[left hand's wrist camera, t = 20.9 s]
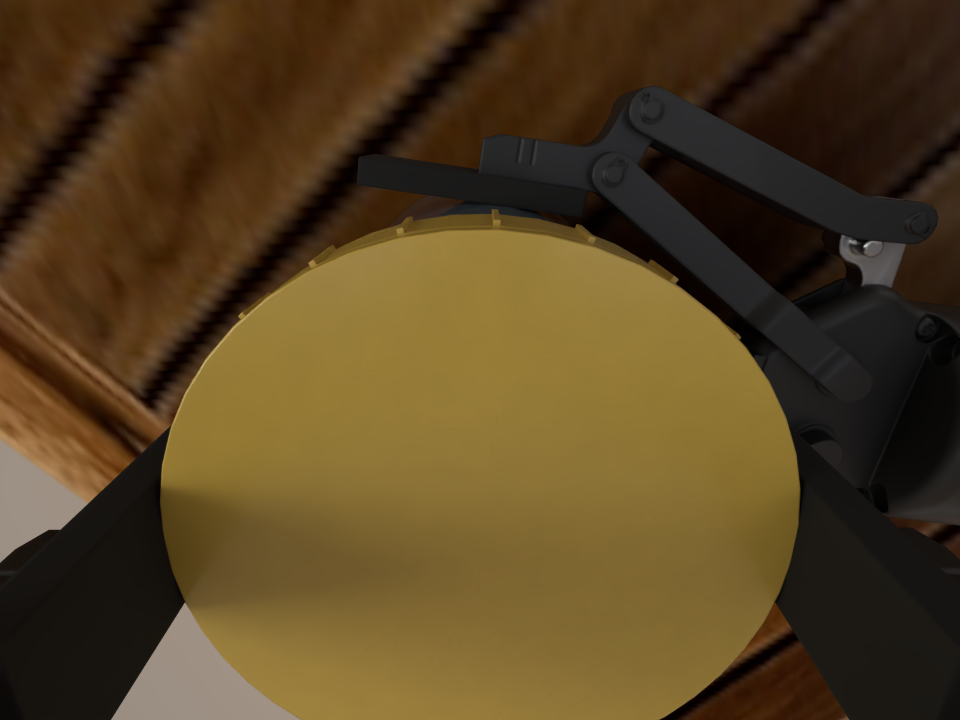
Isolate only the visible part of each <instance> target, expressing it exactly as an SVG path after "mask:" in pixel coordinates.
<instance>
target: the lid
mask: <svg viewBox="0 0 960 720" xmlns="http://www.w3.org/2000/svg"><path fill="white" fill-rule="evenodd" d="M308 264H309V265H310V266H308V267H306V268H305V269H303V270H302V271H300V272H299V273H298V274H296V275H295V276H294V277H292V278H291V279H290V280H288V281H287V282H286V283H284V284H283V285H282V286H281V287H279V288H278V289H277V290H275V291H274V292H273V293H270V292H269V293H267V294H266V295H265V296H263V297H262V298H261V299H259V300H258V301H257V302H255V303H254V304H253V305H251V306H250V307H249V308H247V309H246V310H245V311H243V312H242V313H241V314H240V315H239V316H238V317H239V318H240V319H241V320H240V321H239V322H237V323H236V324H235V325H234V326H233V327H232V328H231V330H230V331H229V332H228V333H227V334H226V335H225V337H224V338H223V339H222V340H221V341H220V342H219V344H218V345H217V346H216V347H215V348H214V350H213V351H212V352H211V353H210V354H209V355H208V357H207V358H206V359H205V361H204V363H203V364H202V366H201V367H200V369H199V371H198V372H197V374H196V376H195V377H194V378H193V380H192V382H191V384H190V386H189V387H188V389H187V390H186V392H185V394H184V397H183V399H182V402H181V404H180V407H179V409H178V411H177V414H176V416H175V419H174V421H173V424H172V426H171V429H170V433H169V437H168V442H167V446H166V451H165V455H164V459H163V464H162V476H161V492H160V509H161V519H162V529H163V534H164V539H165V543H166V547H167V551H168V555H169V560H170V564H171V568H172V572H173V575H174V577H175V579H176V582H177V584H178V586H179V589H180V591H181V594H182V596H183V598H184V601H185V603H186V604H187V606H188V608H189V610H190V611H191V613H192V615H193V616H194V618H195V620H196V621H197V623H198V625H199V626H200V628H201V630H202V631H203V633H204V634H205V635H206V636H207V638H208V639H209V640H210V642H211V643H212V644H213V645H214V647H215V648H216V649H217V651H218V652H219V653H220V654H221V656H222V657H223V658H224V659H225V660H226V661H227V662H228V663H229V664H230V665H231V666H232V667H233V668H234V669H235V670H236V671H237V672H238V673H239V674H240V675H241V676H242V677H243V678H244V679H245V680H246V681H247V682H248V683H249V684H251V685H252V686H253V687H255V688H256V689H257V690H258V691H260V692H261V693H262V694H263V695H265V696H266V697H267V698H269V699H270V700H271V701H272V702H274V703H275V704H277V705H278V706H280V707H281V708H283V709H285V710H286V711H288V712H290V713H291V714H293V715H294V716H296V717H298V718H299V719H301V720H659V719H661V718H663V717H665V716H667V715H668V714H670V713H671V712H673V711H674V710H676V709H677V708H679V707H680V706H681V705H683V704H684V703H686V702H687V701H689V700H690V699H692V698H693V697H695V696H696V695H697V694H698V693H700V692H701V691H702V690H703V689H704V688H705V687H707V686H708V685H709V684H710V683H711V682H713V681H714V680H715V679H716V678H717V677H718V676H720V675H721V674H722V673H723V672H724V671H725V669H726V668H727V667H728V666H729V665H730V664H731V663H732V662H733V661H734V660H735V659H736V658H737V657H738V656H739V655H740V653H741V652H742V651H743V650H744V649H745V648H746V646H747V645H748V643H749V642H750V641H751V639H752V638H753V637H754V635H755V634H756V632H757V631H758V630H759V628H760V627H761V625H762V624H763V623H764V621H765V619H766V617H767V615H768V614H769V612H770V610H771V608H772V606H773V604H774V602H775V601H776V599H777V597H778V595H779V593H780V591H781V588H782V585H783V583H784V580H785V577H786V574H787V572H788V569H789V565H790V561H791V557H792V552H793V548H794V543H795V539H796V535H797V530H798V525H799V512H800V491H801V490H800V482H799V473H798V464H797V455H796V450H795V447H794V443H793V440H792V436H791V433H790V429H789V426H788V422H787V419H786V416H785V414H784V412H783V409H782V407H781V405H780V403H779V401H778V399H777V397H776V394H775V392H774V390H773V388H772V386H771V384H770V382H769V380H768V379H767V377H766V376H765V374H764V373H763V371H762V370H761V368H760V367H759V365H758V364H757V362H756V361H755V360H754V358H753V357H752V355H751V354H750V352H749V351H748V349H747V348H746V347H745V346H744V344H743V343H742V342H741V341H740V340H739V339H740V338H741V337H740V336H739V334H738V333H736V332H735V331H734V330H732V329H731V328H730V327H729V326H727V325H726V324H725V323H723V322H722V321H721V320H720V319H719V318H718V317H717V316H716V315H715V314H714V313H712V312H711V311H710V310H709V309H707V308H706V307H705V306H703V305H702V304H701V303H700V302H698V301H697V300H696V299H695V298H693V297H692V296H691V295H689V294H688V293H687V292H686V291H684V290H683V289H682V288H681V287H679V286H678V285H677V284H676V282H677V281H678V280H679V279H678V278H676V277H675V276H674V275H672V274H671V273H670V272H668V271H667V270H665V269H664V268H663V267H661V266H660V265H659V264H657V263H656V262H654V261H653V260H650V261H649V263H647V262H645V261H644V260H642V259H640V258H638V257H637V256H635V255H633V254H632V253H630V252H628V251H626V250H625V249H623V248H621V247H619V246H618V245H616V244H614V243H611V242H609V241H606V240H604V239H601V238H599V237H596V236H594V235H592V234H591V233H590V232H588V231H587V230H586V229H585V228H584V227H583V226H582V225H579V224H576V227H575V228H572V227H568V226H564V225H560V224H556V223H552V222H548V221H544V220H540V219H536V218H527V217H518V216H509V215H500V214H499V211H498V210H497V209H492V214H466V215H448V216H441V217H435V218H429V219H422V220H416V221H413V218H412V216H411V217H407V218H406V219H405V220H404V221H403V222H402V223H401V224H400V225H397V226H393V227H390V228H387V229H383V230H380V231H376V232H373V233H370V234H368V235H366V236H363V237H361V238H359V239H357V240H355V241H353V242H350V243H348V244H346V245H344V246H342V247H339V248H337V249H335V247H334V245H332V246H331V247H329V248H327V249H326V250H325V251H323V252H322V253H321V254H319V255H318V256H317V257H315V258H314V259H313V260H311V261H310V262H309V263H308Z"/></svg>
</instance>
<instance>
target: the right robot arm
mask: <svg viewBox="0 0 960 720" xmlns="http://www.w3.org/2000/svg"><path fill="white" fill-rule="evenodd" d="M649 146H650V147H652V148H654V149H656V150H657V151H659V152H661V153H663V154H665V155H667V156H669V157H671V158H673V159H675V160H677V161H679V162H681V163H683V164H685V165H687V166H689V167H690V168H692V169H694V170H696V171H698V172H700V173H702V174H704V175H706V176H708V177H710V178H712V179H714V180H716V181H718V182H720V183H721V184H723V185H725V186H727V187H729V188H731V189H733V190H735V191H737V192H739V193H741V194H743V195H745V196H747V197H749V198H751V199H752V200H754V201H756V202H758V203H760V204H762V205H764V206H766V207H768V208H770V209H772V210H774V211H776V212H778V213H780V214H782V215H784V216H785V217H787V218H790V219H792V220H794V221H796V222H799V223H801V224H805V225H808V226H812V227H815V228H819V229H822V230H824V232H823V234H822V241H823V242H824V247H825V250H826V251H827V253H828V254H830V255H831V256H833V257H836V258H838V259H840V260H841V261H842V262H844V264H845V266H846V278H842V279H839V280H837V281H834V282H832V283H830V284H828V285H826V286H824V287H821V288H819V289H817V290H815V291H813V292H811V293H809V294H806V295H804V296H802V297H800V298H798V299H796V300H794V301H789V300H788V299H787V298H786V297H784V296H783V295H781V294H780V293H779V292H777V291H776V290H775V289H773V288H772V287H771V286H770V285H769V284H768V283H767V282H766V281H765V280H763V279H762V278H761V277H760V276H759V275H758V274H757V273H756V272H755V271H753V270H752V269H751V268H750V267H749V266H748V265H747V264H746V263H745V262H744V261H742V260H741V259H740V258H739V257H738V256H737V255H736V254H735V253H734V252H732V251H731V250H730V249H729V248H728V247H727V246H726V245H725V244H724V243H723V242H721V241H720V240H719V239H718V238H717V237H716V236H715V235H714V234H713V233H712V232H710V231H709V230H708V229H707V228H706V227H705V226H704V225H703V224H702V223H700V222H699V221H698V220H697V219H696V218H695V217H694V216H693V215H692V214H691V213H689V212H688V211H687V210H686V209H685V208H684V207H683V206H682V205H681V204H680V203H678V202H677V201H676V200H675V199H674V198H673V197H672V196H671V195H670V194H668V193H667V192H666V191H665V190H664V189H663V188H662V187H661V186H660V185H659V184H657V183H656V182H655V181H654V180H653V179H652V178H651V177H650V176H649V175H647V174H646V173H645V172H644V171H643V170H642V169H641V168H640V167H639V166H638V164H639V163H640V161H641V159H642V158H643V156H644V154H645V153H646V151H647V149H648V148H649ZM357 185H362V186H369V187H376V188H383V189H390V190H396V191H403V192H410V193H417V194H424V195H430V196H437V197H444V198H451V199H458V200H464V201H471V202H478V203H485V204H492V205H498V206H505V207H512V208H519V209H526V210H532V211H539V212H546V213H553V214H560V215H566V216H573V217H580V218H582V214H583V209H584V204H585V199H586V194H587V191H588V192H594V193H595V194H596V195H598V196H599V197H600V198H601V199H602V200H603V201H604V202H606V203H607V204H608V205H609V206H610V207H611V208H612V209H614V210H615V211H616V212H617V213H618V214H619V215H620V216H622V217H623V218H624V219H625V220H626V221H627V222H629V223H630V224H631V225H632V226H633V227H634V228H635V229H637V230H638V231H639V232H640V233H641V234H642V235H643V236H645V237H646V238H647V239H648V240H649V241H650V242H651V243H653V244H654V245H655V246H656V247H657V248H658V249H659V250H661V251H662V252H663V253H664V254H665V255H666V256H667V257H669V258H670V259H671V260H672V261H673V262H674V263H676V264H677V265H678V266H679V267H680V268H681V269H682V270H684V271H685V272H686V273H687V274H688V275H689V276H690V277H692V278H693V279H694V280H695V281H696V282H697V283H698V284H700V285H701V286H702V287H703V288H704V289H705V290H706V291H708V292H709V293H710V294H711V295H712V296H713V297H714V298H716V299H717V301H718V302H719V303H720V304H722V305H723V306H724V307H725V308H726V309H727V310H728V311H730V312H731V313H732V314H733V315H734V316H735V317H736V318H738V319H739V320H740V321H741V322H742V323H743V324H744V325H746V326H745V327H744V328H743V329H742V330H741V331H740V332H739V333H738V334H739V336H740V337H741V338H740V339H739V340H740V341H741V342H742V343H743V344H744V346H745V347H746V348H747V349H748V351H749V352H750V354H751V355H752V357H753V358H754V360H755V361H756V362H757V364H758V365H759V367H760V368H761V370H762V371H763V373H764V374H765V376H766V377H767V379H768V380H769V382H770V384H771V386H772V388H773V390H774V392H775V394H776V397H777V399H778V401H779V403H780V405H781V407H782V409H783V412H784V414H785V416H786V419H787V422H788V425H789V426H790V427H791V428H792V429H793V430H795V431H796V432H797V433H798V434H799V435H800V436H801V437H802V438H803V439H804V440H805V441H806V442H807V443H808V444H809V445H810V446H811V447H813V448H814V449H815V450H816V451H817V452H818V453H819V454H820V455H821V456H822V457H823V458H824V459H825V460H826V461H827V462H828V463H830V464H831V465H832V466H833V467H834V468H835V469H836V470H837V471H838V472H839V473H840V474H841V475H842V476H843V477H844V478H845V479H846V480H848V481H849V482H850V483H851V484H852V485H853V486H854V487H855V488H856V489H857V490H858V491H859V492H860V493H861V494H862V495H863V496H864V497H866V498H867V499H868V500H869V501H870V502H871V503H872V504H873V505H874V506H875V507H876V508H877V509H878V510H879V511H880V512H881V513H883V514H884V515H885V516H889V517H895V518H903V519H912V520H920V521H928V522H936V523H945V524H953V525H960V308H959V307H952V306H945V305H938V304H931V303H924V302H917V301H910V300H905V299H904V298H903V297H902V296H901V295H900V294H899V293H898V292H896V291H895V290H894V289H892V285H893V282H894V279H895V276H896V273H897V271H898V268H899V265H900V262H901V259H902V256H903V253H904V250H905V247H906V244H917V243H920V242H922V241H924V240H926V239H927V238H928V237H929V236H930V235H931V234H932V233H933V231H934V229H935V228H936V226H937V221H938V216H937V212H936V210H935V209H934V208H933V207H932V205H929V204H926V203H922V202H916V201H909V200H903V199H896V198H890V197H883V196H877V195H869V194H860V193H858V192H856V191H854V190H852V189H850V188H848V187H846V186H845V185H843V184H841V183H839V182H837V181H835V180H833V179H832V178H830V177H828V176H826V175H824V174H822V173H820V172H818V171H817V170H815V169H813V168H811V167H809V166H807V165H805V164H803V163H802V162H800V161H798V160H796V159H794V158H792V157H790V156H789V155H787V154H785V153H783V152H781V151H779V150H777V149H775V148H774V147H772V146H770V145H768V144H766V143H764V142H762V141H760V140H759V139H757V138H755V137H753V136H751V135H749V134H747V133H746V132H744V131H742V130H740V129H738V128H736V127H734V126H732V125H731V124H729V123H727V122H725V121H723V120H721V119H719V118H717V117H716V116H714V115H712V114H710V113H708V112H706V111H704V110H703V109H701V108H699V107H697V106H695V105H693V104H691V103H689V102H688V101H686V100H684V99H682V98H680V97H678V96H676V95H675V94H673V93H671V92H669V91H667V90H665V89H663V88H660V87H657V86H651V87H645V88H642V89H638V90H634V91H631V92H628V93H625V94H623V95H622V96H620V97H619V98H618V99H617V100H616V102H615V103H614V105H613V108H612V111H611V115H610V117H609V118H608V120H607V122H606V124H605V126H604V127H603V129H602V131H601V132H600V134H599V135H598V136H597V137H596V138H595V139H594V140H593V141H591V142H590V143H588V144H585V145H581V146H575V145H569V144H562V143H556V142H549V141H543V140H536V139H530V138H523V137H517V136H510V135H504V134H499V135H495V136H491V137H487V138H483V141H482V149H481V156H480V164H479V170H478V169H472V168H465V167H458V166H451V165H445V164H438V163H431V162H425V161H418V160H411V159H405V158H398V157H391V156H385V155H378V154H372V155H367V156H362V157H359V161H358V177H357Z"/></svg>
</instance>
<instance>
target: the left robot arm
mask: <svg viewBox="0 0 960 720" xmlns="http://www.w3.org/2000/svg"><path fill="white" fill-rule="evenodd" d="M171 426H172V425H171ZM171 426H170V427H169V428H168V429H167V430H166V431H165V432H164V433H163V434H162V435H161V436H160V437H158V438H157V439H156V440H155V441H154V442H153V443H152V444H151V445H150V446H149V447H148V448H147V449H146V450H145V451H144V452H143V453H141V454H140V455H139V456H138V457H137V458H136V459H135V460H134V461H133V462H132V463H131V464H130V465H129V466H128V467H127V468H126V469H125V470H123V471H122V472H121V473H120V474H119V475H118V476H117V477H116V478H115V479H114V480H113V481H112V482H111V483H110V484H109V485H108V486H107V487H105V488H104V489H103V490H102V491H101V492H100V493H99V494H98V495H97V496H96V497H95V498H94V499H93V500H92V501H91V502H90V503H88V504H87V505H86V506H85V507H84V508H83V509H82V510H81V511H80V512H79V513H78V514H77V515H76V516H75V517H74V518H73V519H72V520H70V521H69V522H68V523H67V524H66V525H65V526H64V527H63V528H62V529H61V530H48V531H46V532H44V533H43V534H41V535H39V536H37V537H36V538H34V539H32V540H31V541H29V542H27V543H25V544H24V545H22V546H20V547H18V548H17V549H15V550H14V551H13V552H12V553H11V554H10V555H8V556H7V557H6V558H5V559H4V560H3V561H2V562H1V563H0V720H111V719H112V717H113V716H114V714H115V712H116V711H117V709H118V708H119V706H120V705H121V703H122V701H123V700H124V698H125V696H126V695H127V693H128V692H129V690H130V689H131V687H132V685H133V684H134V682H135V681H136V679H137V678H138V676H139V674H140V673H141V671H142V670H143V668H144V666H145V665H146V663H147V662H148V660H149V658H150V657H151V655H152V654H153V652H154V651H155V649H156V647H157V646H158V644H159V643H160V641H161V639H162V638H163V636H164V635H165V633H166V632H167V630H168V628H169V627H170V625H171V623H172V622H173V620H174V619H175V617H176V616H177V614H178V612H179V611H180V609H181V608H182V606H183V604H184V603H185V601H184V598H183V596H182V594H181V591H180V589H179V586H178V584H177V582H176V579H175V577H174V575H173V572H172V568H171V564H170V560H169V555H168V551H167V547H166V543H165V539H164V534H163V529H162V519H161V509H160V492H161V476H162V464H163V459H164V455H165V451H166V446H167V442H168V437H169V433H170V429H171ZM788 426H789V425H788ZM789 429H790V433H791V436H792V440H793V443H794V447H795V450H796V455H797V464H798V473H799V482H800V490H801V491H800V512H799V525H798V530H797V535H796V539H795V543H794V548H793V552H792V557H791V561H790V565H789V569H788V572H787V574H786V577H785V580H784V583H783V585H782V588H781V591H780V593H779V595H778V597H777V599H776V601H775V602H776V604H777V606H778V607H779V609H780V610H781V612H782V613H783V615H784V617H785V618H786V620H787V621H788V623H789V625H790V626H791V628H792V629H793V631H794V633H795V634H796V636H797V637H798V639H799V640H800V642H801V644H802V645H803V647H804V648H805V650H806V652H807V653H808V655H809V656H810V658H811V659H812V661H813V663H814V664H815V666H816V667H817V669H818V671H819V672H820V674H821V675H822V677H823V679H824V680H825V682H826V683H827V685H828V686H829V688H830V690H831V691H832V693H833V694H834V696H835V698H836V699H837V701H838V702H839V704H840V705H841V707H842V709H843V710H844V712H845V713H846V715H847V717H848V718H849V720H960V559H958V558H957V557H956V556H955V555H954V554H953V553H952V552H950V551H949V550H948V549H947V548H946V547H944V546H943V545H941V544H939V543H937V542H936V541H934V540H932V539H930V538H929V537H927V536H925V535H924V534H922V533H920V532H918V531H917V530H915V529H913V528H897V527H896V526H895V525H894V524H893V523H892V522H891V521H890V520H889V519H888V518H887V517H886V516H885V515H884V514H883V513H881V512H880V511H879V510H878V509H877V508H876V507H875V506H874V505H873V504H872V503H871V502H870V501H869V500H868V499H867V498H866V497H864V496H863V495H862V494H861V493H860V492H859V491H858V490H857V489H856V488H855V487H854V486H853V485H852V484H851V483H850V482H849V481H848V480H846V479H845V478H844V477H843V476H842V475H841V474H840V473H839V472H838V471H837V470H836V469H835V468H834V467H833V466H832V465H831V464H830V463H828V462H827V461H826V460H825V459H824V458H823V457H822V456H821V455H820V454H819V453H818V452H817V451H816V450H815V449H814V448H813V447H811V446H810V445H809V444H808V443H807V442H806V441H805V440H804V439H803V438H802V437H801V436H800V435H799V434H798V433H797V432H796V431H795V430H793V429H792V428H791V427H790V426H789Z"/></svg>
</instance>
